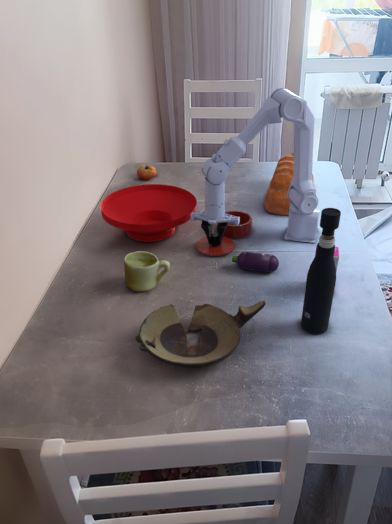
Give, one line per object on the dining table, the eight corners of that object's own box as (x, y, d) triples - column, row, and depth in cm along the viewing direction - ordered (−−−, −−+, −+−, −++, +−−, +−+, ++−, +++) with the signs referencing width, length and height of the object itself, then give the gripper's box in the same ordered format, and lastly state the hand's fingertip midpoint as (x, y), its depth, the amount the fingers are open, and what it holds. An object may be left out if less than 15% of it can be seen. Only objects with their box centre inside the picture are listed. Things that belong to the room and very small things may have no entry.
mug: (114, 288, 129) (120, 253, 125) (126, 279, 138) (133, 245, 134) (157, 301, 127) (165, 266, 124) (167, 291, 137) (174, 257, 133)
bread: (314, 182, 186) (318, 148, 178) (307, 217, 162) (311, 180, 154) (273, 179, 190) (276, 145, 182) (261, 213, 166) (263, 176, 158)
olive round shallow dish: (142, 318, 121) (139, 293, 117) (261, 315, 121) (263, 289, 116) (133, 381, 104) (129, 355, 99) (273, 378, 103) (275, 351, 98)
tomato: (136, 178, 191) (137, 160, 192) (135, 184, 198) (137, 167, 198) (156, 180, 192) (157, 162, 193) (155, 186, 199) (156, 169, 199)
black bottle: (329, 320, 118) (348, 206, 100) (326, 336, 113) (345, 220, 95) (303, 316, 120) (317, 203, 102) (298, 331, 115) (313, 216, 97)
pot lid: (238, 241, 151) (239, 228, 149) (229, 260, 142) (229, 246, 140) (202, 236, 154) (201, 223, 152) (190, 255, 145) (190, 241, 143)
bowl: (87, 244, 153) (81, 215, 146) (132, 205, 175) (129, 178, 169) (174, 260, 143) (172, 230, 137) (210, 217, 165) (210, 189, 159)
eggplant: (279, 267, 138) (281, 252, 135) (276, 276, 134) (277, 261, 131) (234, 261, 142) (234, 246, 138) (230, 270, 138) (230, 255, 135)
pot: (254, 224, 160) (255, 212, 157) (247, 240, 151) (247, 227, 149) (222, 221, 162) (222, 209, 160) (213, 236, 154) (213, 223, 152)
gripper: (186, 204, 138) (188, 246, 146) (236, 210, 134) (235, 252, 143) (194, 195, 143) (195, 235, 152) (241, 199, 140) (240, 241, 148)
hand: (215, 243), depth 147 cm, fingers closed on pot lid, 2 cm apart
